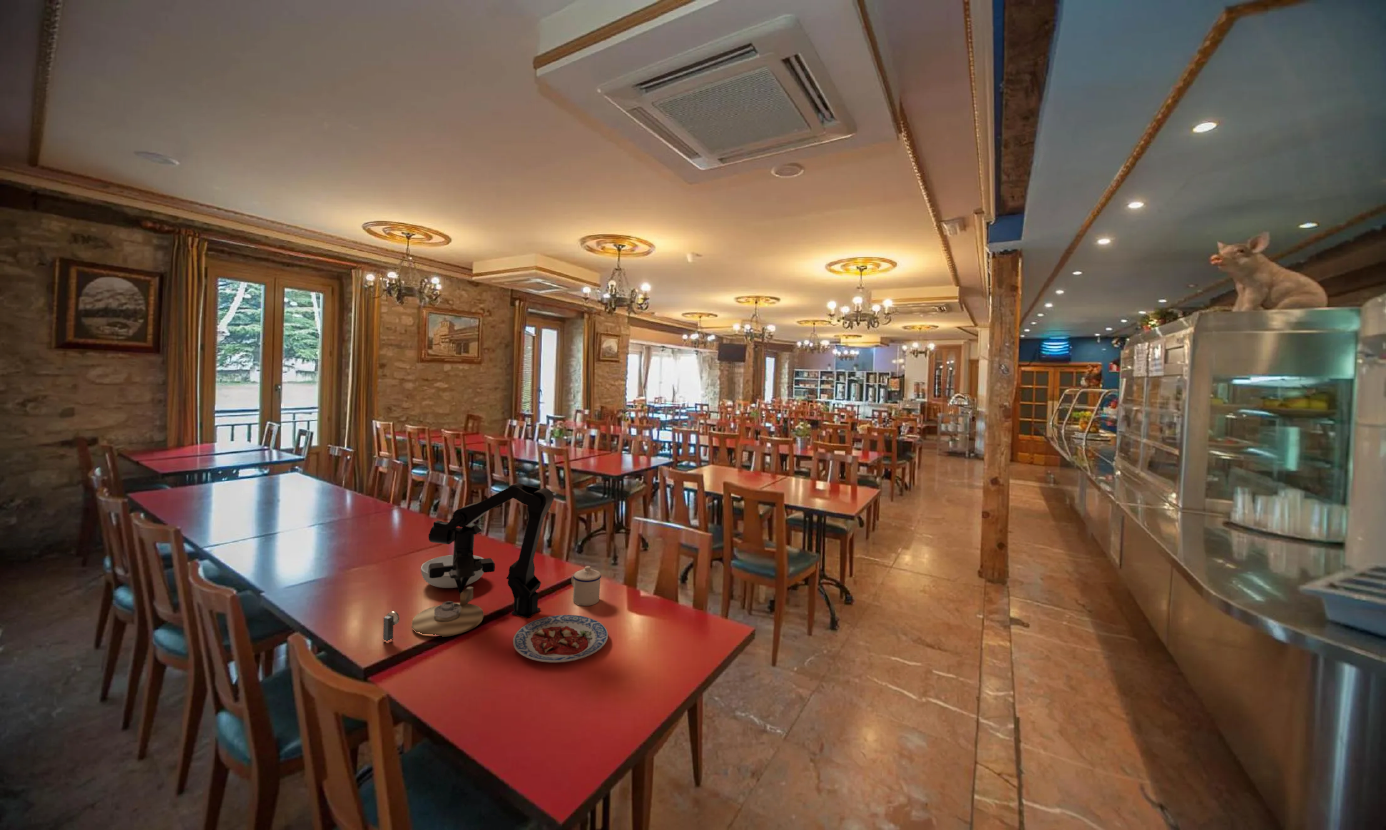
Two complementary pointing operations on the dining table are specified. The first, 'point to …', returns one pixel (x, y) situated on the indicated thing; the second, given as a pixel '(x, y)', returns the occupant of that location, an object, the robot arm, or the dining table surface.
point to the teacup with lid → (586, 586)
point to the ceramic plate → (560, 638)
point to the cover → (447, 612)
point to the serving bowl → (446, 573)
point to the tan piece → (465, 622)
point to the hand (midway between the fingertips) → (460, 594)
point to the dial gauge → (390, 625)
